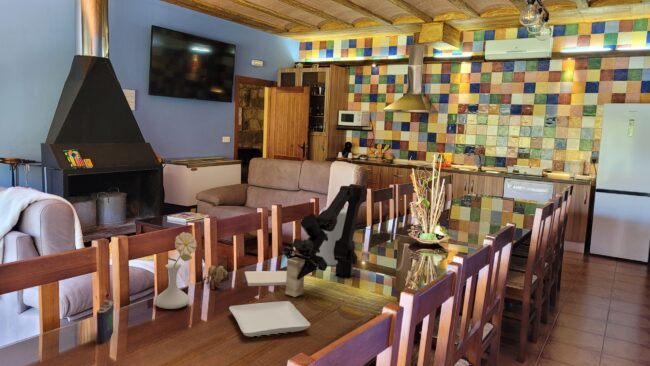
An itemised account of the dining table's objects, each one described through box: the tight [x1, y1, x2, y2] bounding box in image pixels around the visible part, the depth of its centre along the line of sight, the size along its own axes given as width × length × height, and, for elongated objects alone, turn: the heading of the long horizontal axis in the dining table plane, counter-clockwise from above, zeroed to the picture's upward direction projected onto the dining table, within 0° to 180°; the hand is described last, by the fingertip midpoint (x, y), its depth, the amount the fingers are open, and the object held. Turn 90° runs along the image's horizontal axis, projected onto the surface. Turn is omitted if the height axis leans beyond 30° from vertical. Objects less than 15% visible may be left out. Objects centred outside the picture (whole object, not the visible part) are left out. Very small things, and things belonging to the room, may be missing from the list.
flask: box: [96, 299, 114, 345], centre depth 136 cm, size 9×3×11 cm, turn 8°
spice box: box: [284, 257, 305, 298], centre depth 178 cm, size 5×5×13 cm
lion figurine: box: [206, 264, 229, 290], centre depth 183 cm, size 15×5×9 cm, turn 36°
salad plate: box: [228, 300, 312, 338], centre depth 152 cm, size 21×21×3 cm
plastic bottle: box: [316, 206, 348, 267], centre depth 224 cm, size 15×15×28 cm
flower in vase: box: [153, 231, 197, 310], centre depth 160 cm, size 13×11×25 cm
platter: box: [244, 270, 287, 287], centre depth 194 cm, size 18×14×1 cm
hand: (292, 277), depth 177 cm, fingers closed on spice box, 5 cm apart
